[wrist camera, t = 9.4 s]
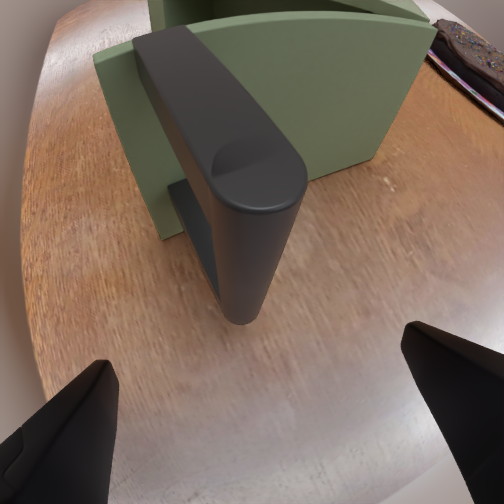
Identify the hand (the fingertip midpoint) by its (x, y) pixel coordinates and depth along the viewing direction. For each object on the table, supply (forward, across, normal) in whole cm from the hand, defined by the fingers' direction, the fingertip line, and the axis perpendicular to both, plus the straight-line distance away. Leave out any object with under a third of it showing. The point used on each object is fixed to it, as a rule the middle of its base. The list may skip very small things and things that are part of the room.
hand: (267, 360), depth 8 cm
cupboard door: (+10, -4, 0) cm, 11 cm away
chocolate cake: (+29, -42, -19) cm, 55 cm away
